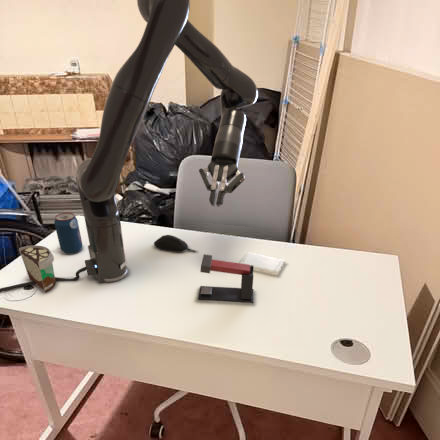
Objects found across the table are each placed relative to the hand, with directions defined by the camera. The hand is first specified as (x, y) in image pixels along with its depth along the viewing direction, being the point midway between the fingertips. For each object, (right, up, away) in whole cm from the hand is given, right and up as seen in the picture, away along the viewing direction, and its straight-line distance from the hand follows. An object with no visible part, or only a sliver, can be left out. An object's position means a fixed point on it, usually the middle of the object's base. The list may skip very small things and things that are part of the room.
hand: (215, 205), depth 107 cm
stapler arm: (+3, -18, -2) cm, 18 cm away
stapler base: (+3, -25, +3) cm, 25 cm away
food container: (-49, -21, +7) cm, 53 cm away
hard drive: (+14, -15, +17) cm, 27 cm away
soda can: (-47, -10, +23) cm, 54 cm away
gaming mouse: (-14, -9, +26) cm, 30 cm away
